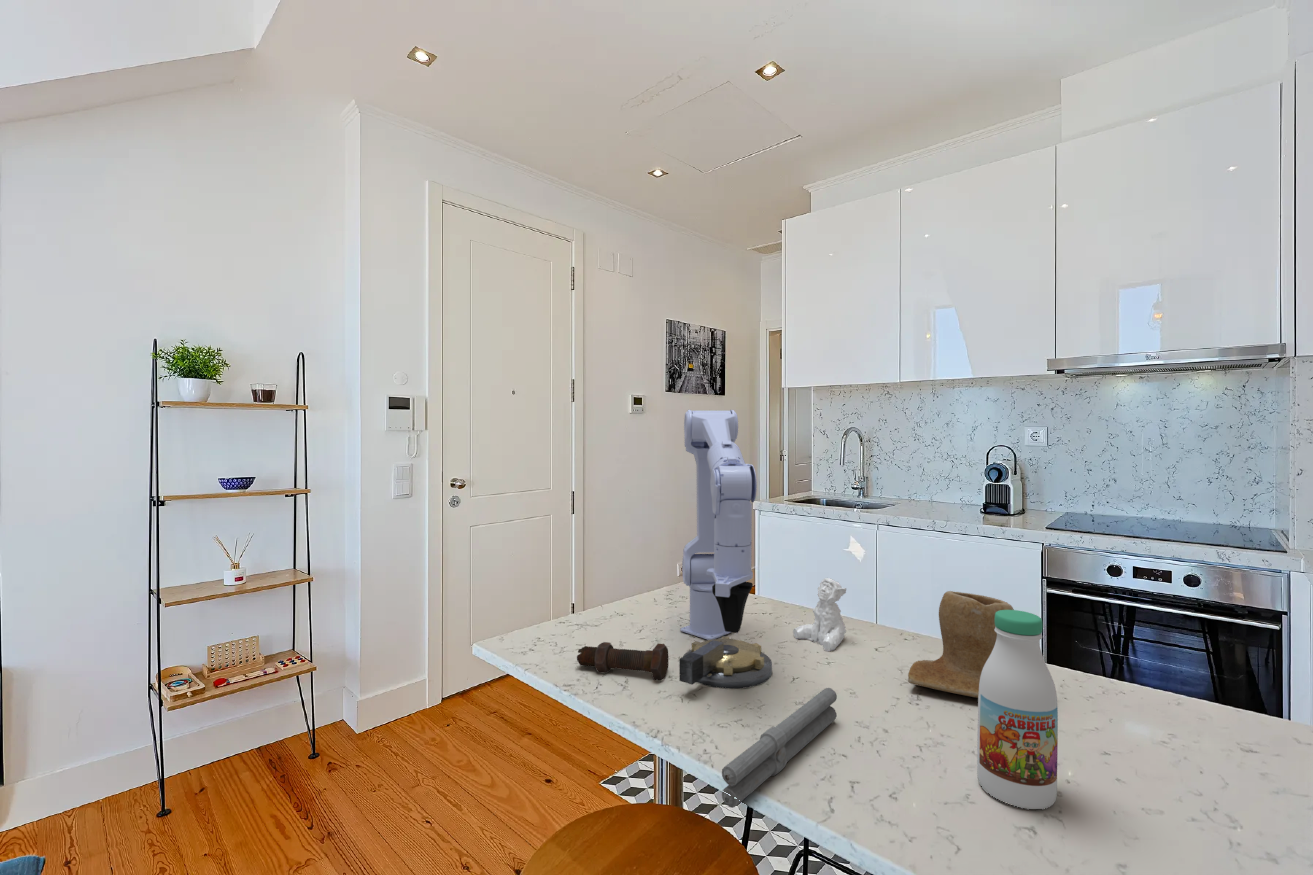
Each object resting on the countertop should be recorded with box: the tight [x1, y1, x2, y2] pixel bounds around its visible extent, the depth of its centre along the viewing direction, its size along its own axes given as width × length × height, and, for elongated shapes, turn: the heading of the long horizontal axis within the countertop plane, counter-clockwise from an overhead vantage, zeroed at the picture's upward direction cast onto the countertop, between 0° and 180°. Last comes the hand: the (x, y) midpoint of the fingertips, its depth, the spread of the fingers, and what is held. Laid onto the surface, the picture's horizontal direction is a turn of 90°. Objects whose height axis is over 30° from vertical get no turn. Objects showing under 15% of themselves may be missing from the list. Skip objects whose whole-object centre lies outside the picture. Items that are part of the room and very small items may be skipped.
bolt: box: [576, 641, 670, 682], centre depth 101 cm, size 6×5×15 cm
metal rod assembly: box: [721, 687, 838, 808], centre depth 74 cm, size 26×3×5 cm, turn 140°
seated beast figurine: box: [792, 577, 847, 652], centre depth 115 cm, size 10×9×12 cm
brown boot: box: [907, 590, 1015, 699], centre depth 94 cm, size 15×12×15 cm
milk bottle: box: [976, 609, 1059, 810], centre depth 68 cm, size 8×8×20 cm
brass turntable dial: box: [678, 636, 764, 685], centre depth 99 cm, size 19×13×4 cm
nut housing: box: [682, 648, 773, 690], centre depth 102 cm, size 15×15×2 cm
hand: (732, 630), depth 93 cm, fingers closed
